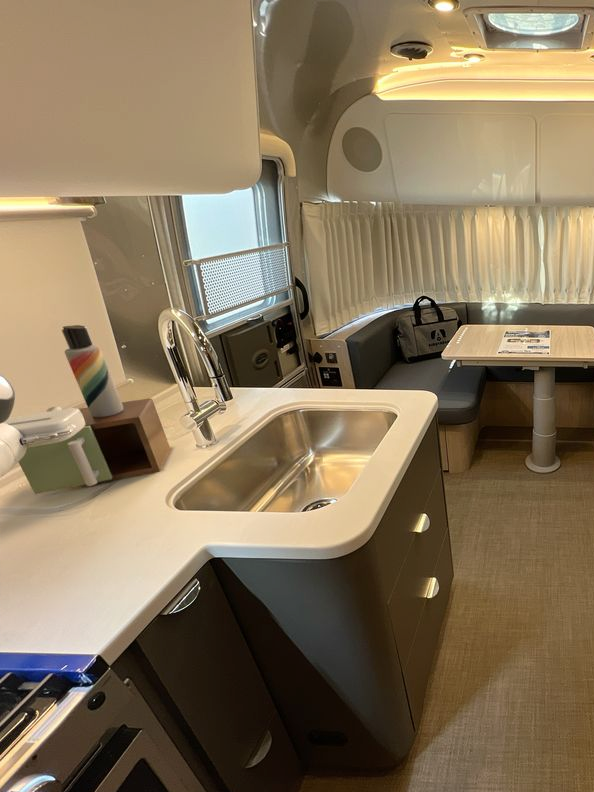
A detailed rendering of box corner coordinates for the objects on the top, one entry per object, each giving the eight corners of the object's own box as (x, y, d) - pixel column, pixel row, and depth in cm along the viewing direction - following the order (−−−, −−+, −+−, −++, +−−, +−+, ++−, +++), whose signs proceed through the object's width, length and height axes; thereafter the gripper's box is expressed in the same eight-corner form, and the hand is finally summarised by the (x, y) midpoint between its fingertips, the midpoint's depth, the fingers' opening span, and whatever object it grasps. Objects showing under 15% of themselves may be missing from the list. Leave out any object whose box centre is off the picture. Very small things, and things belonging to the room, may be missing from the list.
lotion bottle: (91, 412, 109) (54, 325, 101) (123, 405, 112) (90, 320, 104) (91, 420, 105) (53, 330, 97) (125, 412, 108) (90, 325, 100)
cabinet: (83, 486, 107) (57, 429, 101) (101, 461, 117) (77, 408, 111) (159, 471, 112) (139, 416, 106) (170, 448, 122) (151, 397, 116)
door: (25, 505, 98) (-5, 449, 93) (36, 491, 103) (9, 438, 98) (105, 489, 103) (81, 435, 98) (112, 477, 108) (90, 425, 103)
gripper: (60, 418, 79) (89, 390, 91) (-119, 444, 71) (-63, 409, 83) (75, 452, 82) (101, 420, 93) (-96, 480, 74) (-45, 442, 85)
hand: (23, 415), depth 88 cm, fingers open, 8 cm apart
